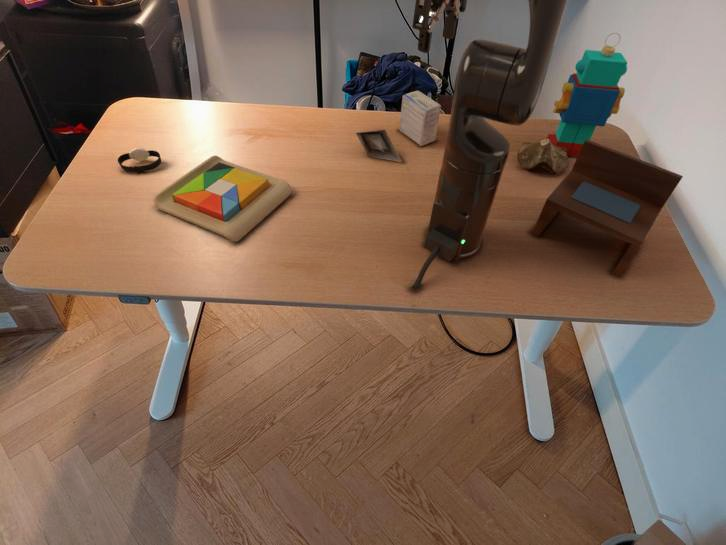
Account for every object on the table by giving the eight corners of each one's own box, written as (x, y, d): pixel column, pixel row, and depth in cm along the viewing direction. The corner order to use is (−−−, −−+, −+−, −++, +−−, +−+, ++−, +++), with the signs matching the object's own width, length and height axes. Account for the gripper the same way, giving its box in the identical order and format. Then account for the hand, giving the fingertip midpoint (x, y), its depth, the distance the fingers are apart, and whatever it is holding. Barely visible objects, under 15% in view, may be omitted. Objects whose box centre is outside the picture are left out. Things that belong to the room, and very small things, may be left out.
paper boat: (403, 139, 103) (416, 152, 95) (387, 164, 105) (398, 179, 98) (357, 111, 98) (367, 122, 90) (341, 138, 100) (350, 151, 92)
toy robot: (589, 145, 107) (642, 28, 89) (595, 160, 103) (652, 41, 85) (537, 140, 107) (580, 23, 89) (542, 155, 103) (587, 36, 85)
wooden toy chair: (620, 276, 79) (662, 212, 69) (532, 233, 86) (559, 168, 75) (641, 239, 86) (683, 175, 76) (558, 202, 92) (586, 138, 82)
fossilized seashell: (573, 153, 100) (525, 145, 104) (574, 135, 94) (524, 128, 98) (561, 184, 99) (514, 175, 103) (562, 169, 93) (512, 159, 97)
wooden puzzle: (218, 161, 96) (215, 146, 94) (294, 192, 90) (293, 177, 88) (152, 207, 86) (146, 191, 83) (234, 246, 80) (230, 231, 77)
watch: (162, 157, 96) (157, 141, 94) (163, 170, 93) (158, 154, 91) (121, 162, 94) (115, 147, 92) (121, 176, 91) (114, 160, 89)
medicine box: (435, 141, 105) (442, 105, 99) (420, 147, 103) (426, 110, 97) (413, 125, 109) (418, 89, 103) (398, 130, 108) (402, 94, 101)
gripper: (454, -68, 84) (439, 28, 96) (407, -52, 77) (398, 50, 89) (491, -59, 81) (471, 39, 93) (446, -42, 74) (431, 62, 86)
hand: (435, 44), depth 91 cm, fingers open, 8 cm apart
